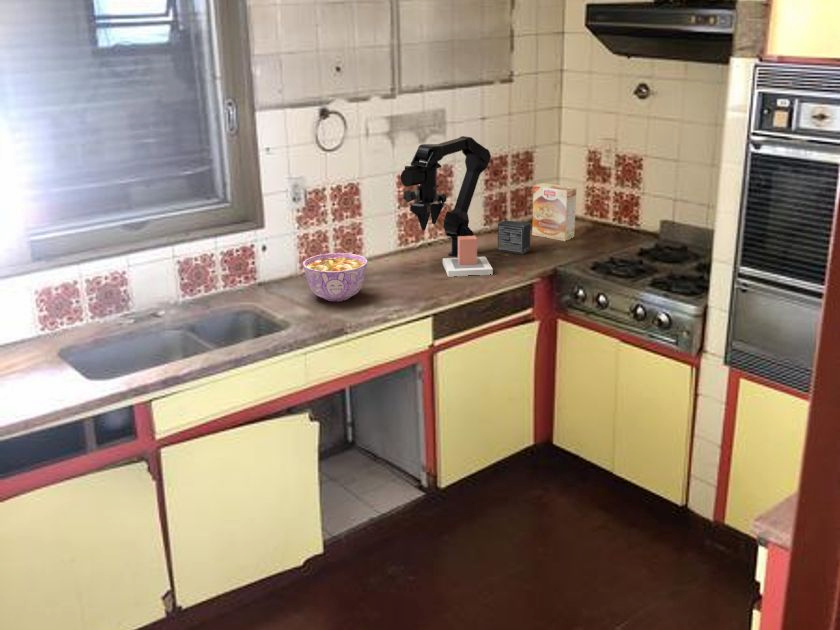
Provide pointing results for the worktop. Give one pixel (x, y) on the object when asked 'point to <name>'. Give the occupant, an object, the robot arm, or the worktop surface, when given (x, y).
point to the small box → (514, 237)
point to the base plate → (467, 267)
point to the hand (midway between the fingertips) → (428, 226)
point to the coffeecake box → (554, 211)
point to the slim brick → (467, 250)
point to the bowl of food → (335, 275)
